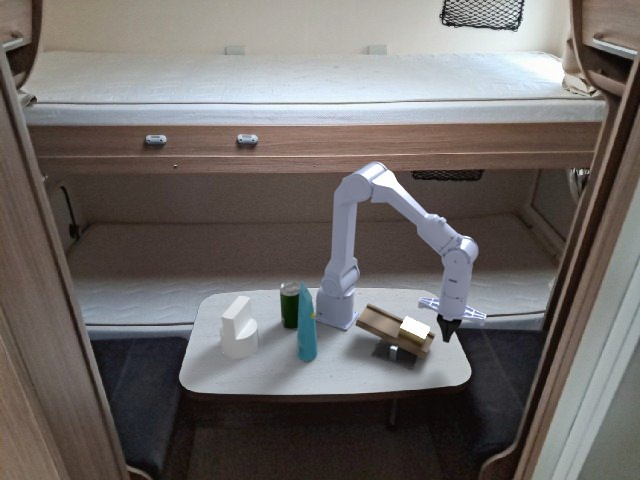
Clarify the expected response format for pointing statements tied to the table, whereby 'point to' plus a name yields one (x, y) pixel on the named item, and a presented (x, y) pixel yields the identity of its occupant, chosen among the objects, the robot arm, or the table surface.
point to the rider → (413, 331)
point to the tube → (306, 326)
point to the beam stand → (394, 354)
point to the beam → (390, 329)
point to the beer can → (289, 304)
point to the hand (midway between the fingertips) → (446, 339)
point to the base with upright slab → (239, 330)
